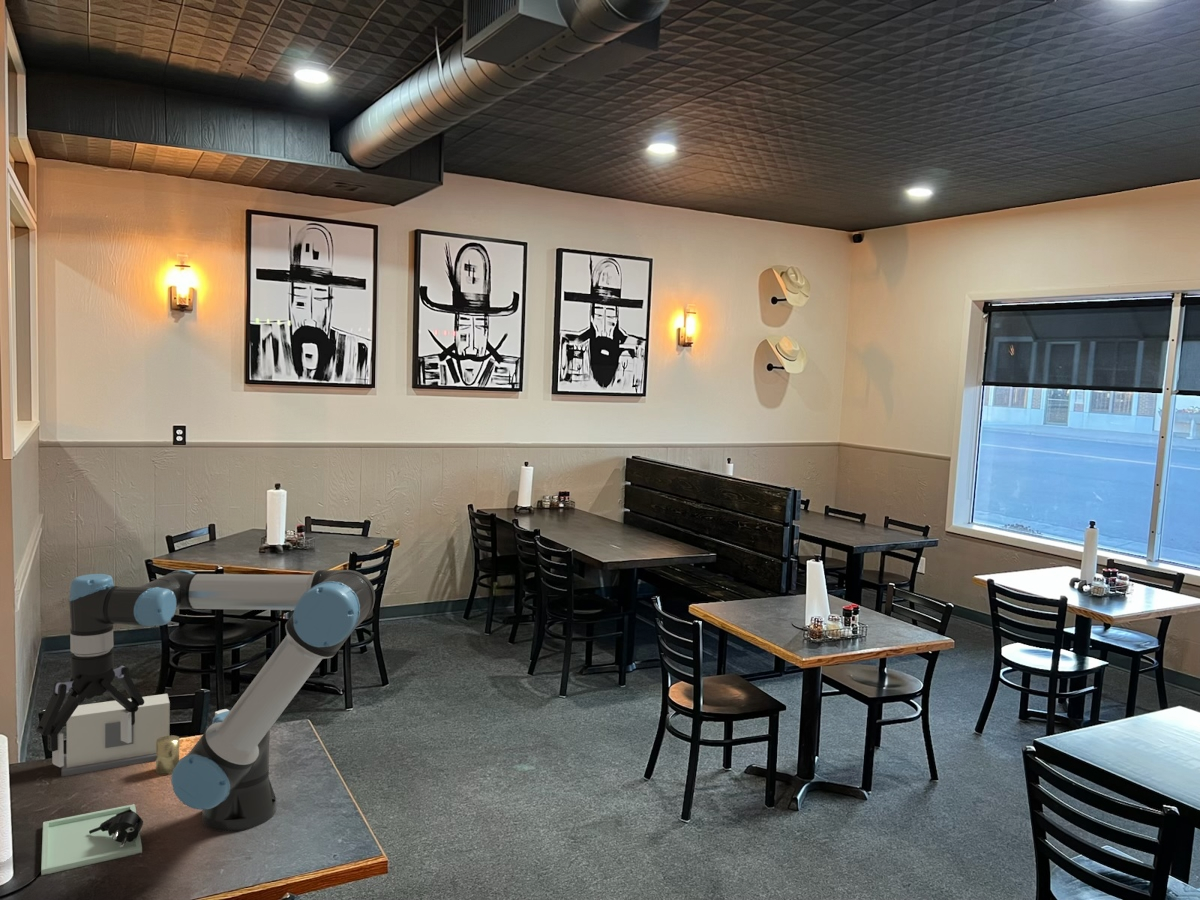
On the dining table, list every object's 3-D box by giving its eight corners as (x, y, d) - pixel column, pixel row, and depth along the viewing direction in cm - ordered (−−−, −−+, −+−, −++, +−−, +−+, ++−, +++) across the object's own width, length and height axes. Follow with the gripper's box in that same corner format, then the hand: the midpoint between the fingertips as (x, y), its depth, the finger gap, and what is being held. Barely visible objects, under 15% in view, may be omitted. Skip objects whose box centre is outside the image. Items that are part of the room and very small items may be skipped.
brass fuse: (183, 770, 208) (183, 738, 207) (164, 778, 204) (164, 745, 203) (171, 765, 211) (171, 733, 210) (151, 772, 206) (152, 740, 206)
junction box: (170, 743, 223) (171, 691, 222) (174, 758, 214) (174, 704, 213) (62, 760, 210) (62, 705, 209) (61, 777, 202) (61, 720, 201)
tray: (142, 854, 171) (142, 847, 171) (41, 877, 162) (41, 869, 162) (134, 810, 188) (134, 803, 188) (43, 828, 179) (43, 821, 179)
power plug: (99, 837, 179) (152, 818, 178) (84, 868, 172) (138, 847, 171) (83, 819, 176) (136, 799, 176) (67, 850, 169) (122, 829, 169)
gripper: (141, 633, 185) (141, 728, 186) (14, 663, 163) (16, 770, 165) (161, 639, 181) (162, 736, 183) (35, 671, 160) (37, 780, 161)
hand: (93, 752), depth 174 cm, fingers open, 13 cm apart
